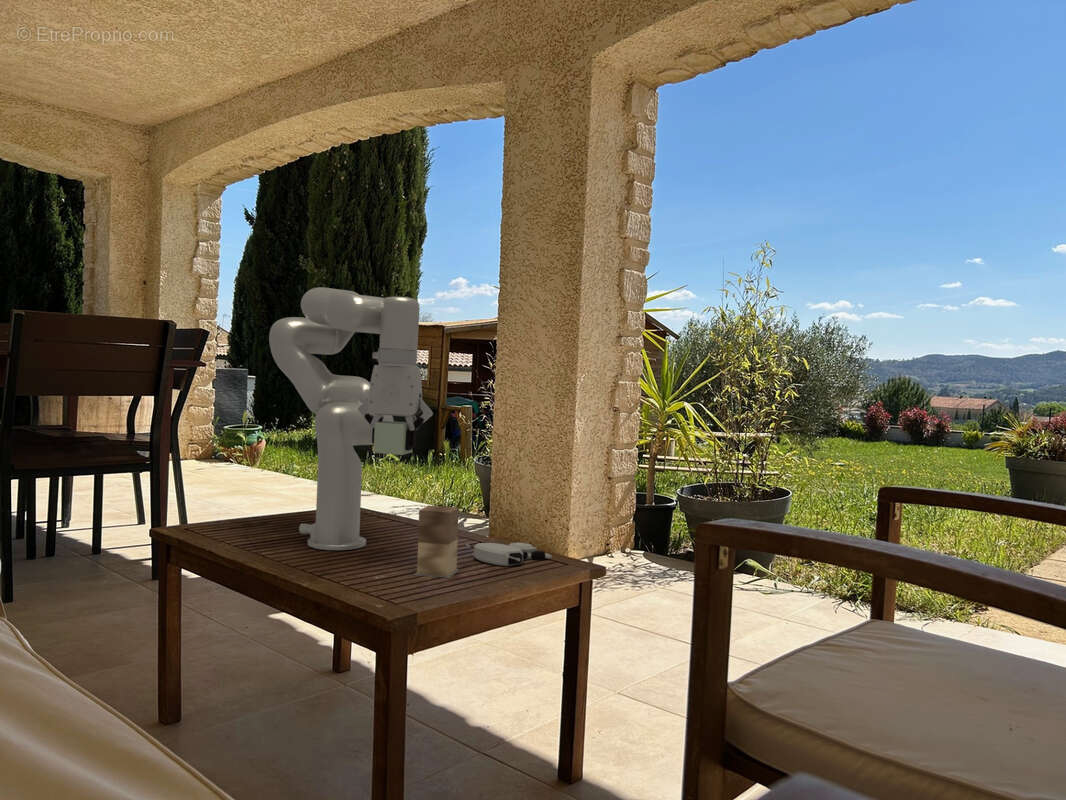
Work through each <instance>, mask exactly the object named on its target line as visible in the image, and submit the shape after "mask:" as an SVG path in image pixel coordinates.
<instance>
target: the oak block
mask: <svg viewBox="0 0 1066 800" xmlns="http://www.w3.org/2000/svg"><path fill="white" fill-rule="evenodd" d="M458 543H459V540H458V538H457V539H456V540H455V541H453V542H452V543H451V544H449V545H446V544H434V543H422V542H418V541H417V558H416V559H417V561H416V562H417V563H416V572H417V574H422V575H421V576H423V575H433V576H432V577H434V576H444V577H443V578H445V577H448V576H449V575H451V574H452V573H453V572H454V571H455V570H456V569H458V567H457V565H458V563H457V562H458V545H459V544H458Z"/></svg>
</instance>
